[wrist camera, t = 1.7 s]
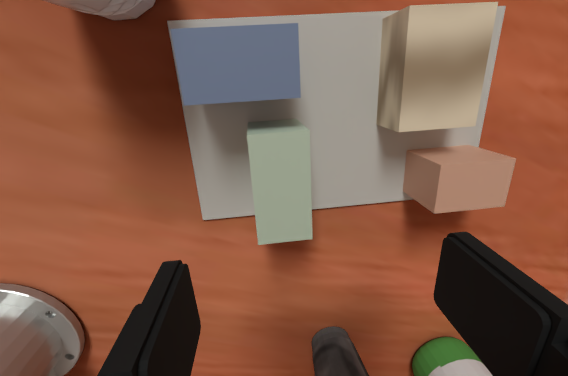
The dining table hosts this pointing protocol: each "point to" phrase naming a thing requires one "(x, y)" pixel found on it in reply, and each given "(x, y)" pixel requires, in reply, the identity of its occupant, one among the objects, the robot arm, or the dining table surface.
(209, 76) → the slate blue block
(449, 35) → the beech block
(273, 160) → the sage block
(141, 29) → the dining table surface
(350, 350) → the beverage cup
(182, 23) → the felt placemat
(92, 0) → the white cup
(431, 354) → the wine bottle
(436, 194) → the terracotta block
